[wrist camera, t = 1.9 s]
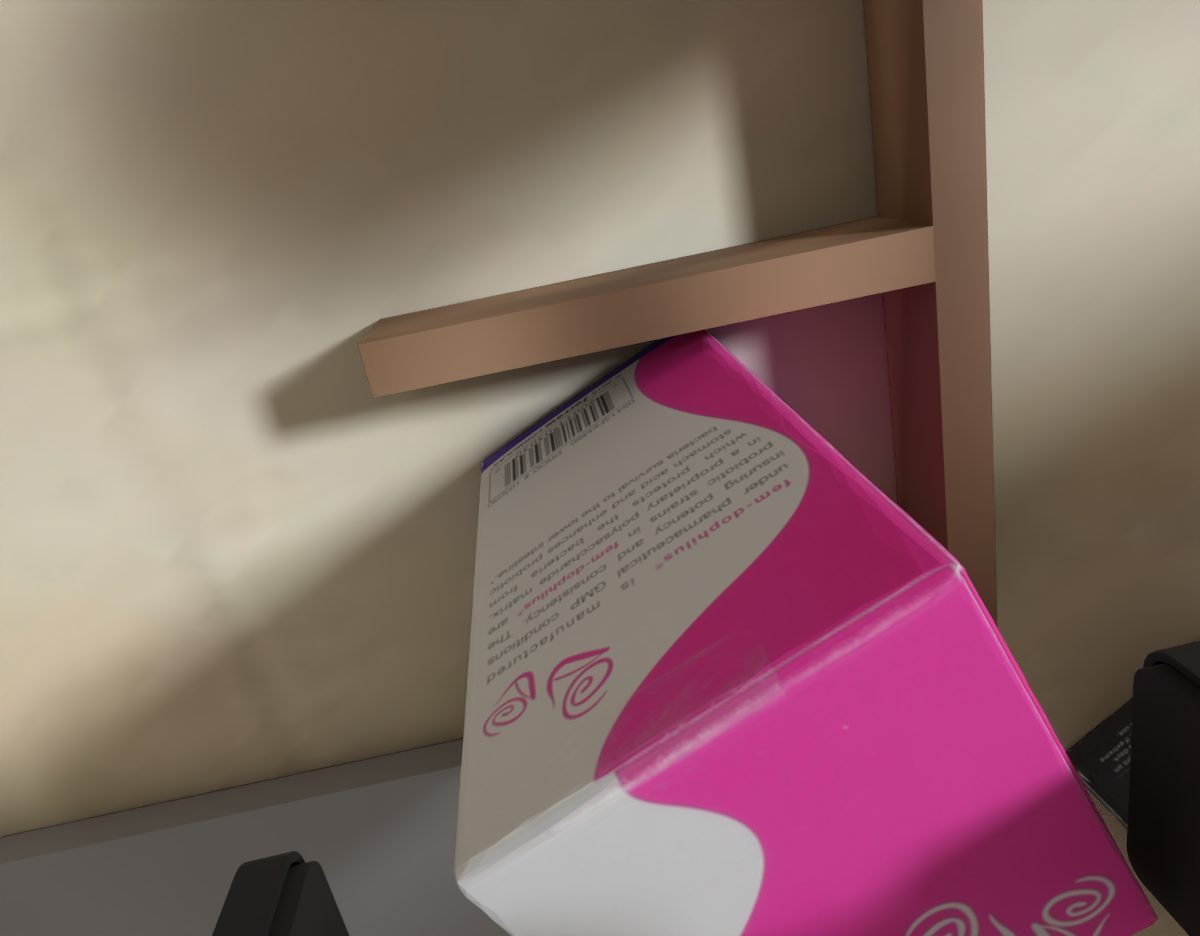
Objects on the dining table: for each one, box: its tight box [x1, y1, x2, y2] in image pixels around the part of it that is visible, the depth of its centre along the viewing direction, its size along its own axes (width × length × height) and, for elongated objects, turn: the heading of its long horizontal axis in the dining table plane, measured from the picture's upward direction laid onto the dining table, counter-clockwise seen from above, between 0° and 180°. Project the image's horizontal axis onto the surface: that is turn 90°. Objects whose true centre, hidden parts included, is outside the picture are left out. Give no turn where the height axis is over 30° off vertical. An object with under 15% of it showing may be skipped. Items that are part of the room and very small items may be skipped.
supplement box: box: [454, 329, 1158, 936], centre depth 14 cm, size 6×6×12 cm
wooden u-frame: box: [358, 0, 997, 627], centre depth 16 cm, size 12×19×2 cm, turn 11°
